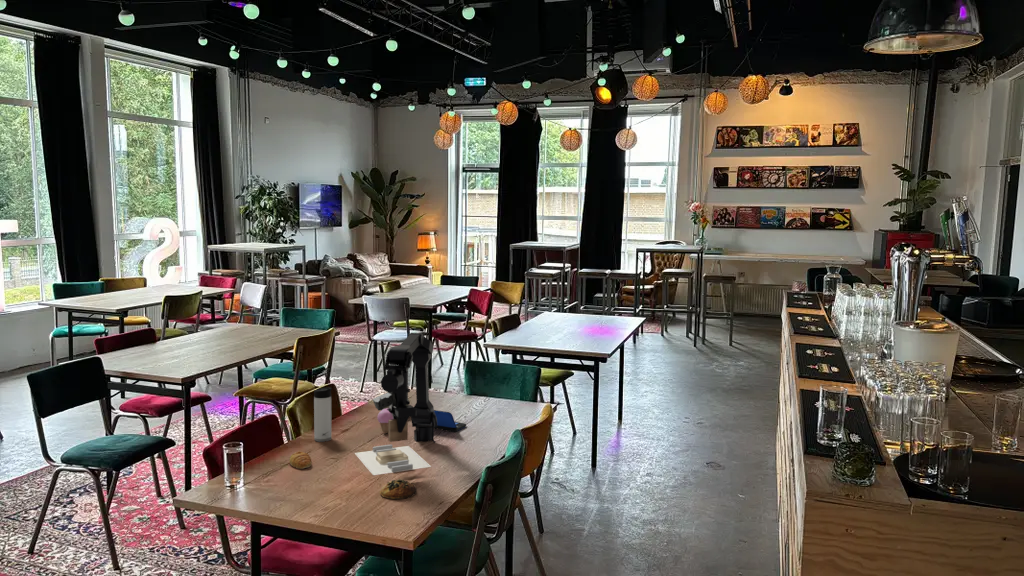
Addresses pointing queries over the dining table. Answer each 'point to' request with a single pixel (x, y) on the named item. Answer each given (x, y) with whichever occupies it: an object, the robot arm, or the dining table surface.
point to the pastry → (300, 460)
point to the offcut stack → (391, 456)
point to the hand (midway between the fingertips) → (399, 431)
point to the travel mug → (322, 414)
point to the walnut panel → (396, 431)
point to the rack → (390, 467)
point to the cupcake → (384, 419)
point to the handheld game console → (447, 422)
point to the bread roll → (398, 489)
